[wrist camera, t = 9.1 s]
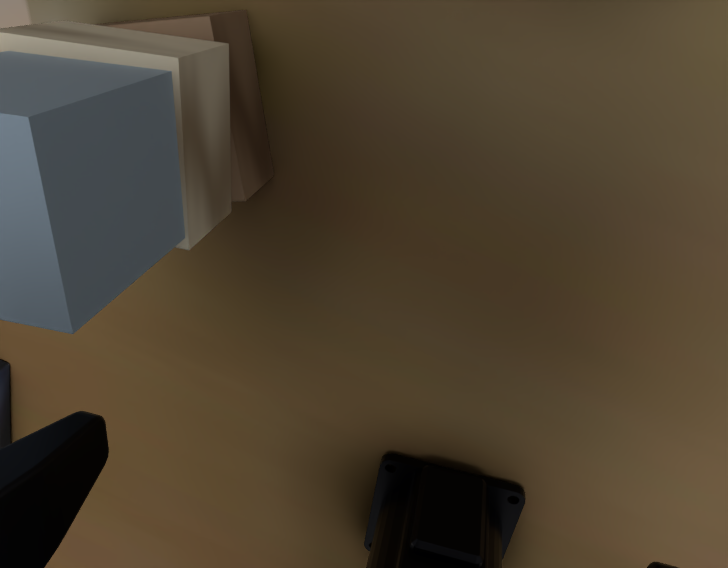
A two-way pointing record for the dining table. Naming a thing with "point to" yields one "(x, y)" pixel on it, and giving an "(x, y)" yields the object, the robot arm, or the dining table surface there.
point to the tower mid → (191, 101)
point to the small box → (4, 404)
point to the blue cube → (82, 184)
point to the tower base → (245, 98)
